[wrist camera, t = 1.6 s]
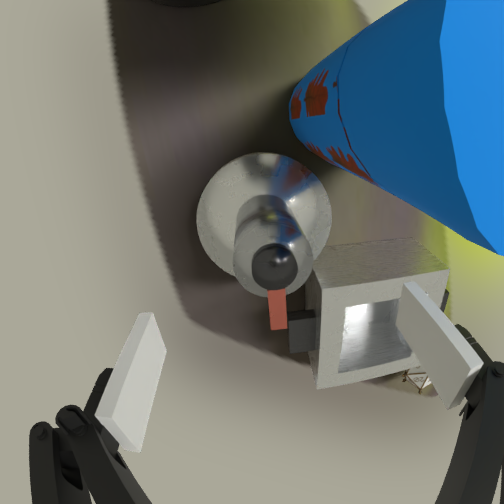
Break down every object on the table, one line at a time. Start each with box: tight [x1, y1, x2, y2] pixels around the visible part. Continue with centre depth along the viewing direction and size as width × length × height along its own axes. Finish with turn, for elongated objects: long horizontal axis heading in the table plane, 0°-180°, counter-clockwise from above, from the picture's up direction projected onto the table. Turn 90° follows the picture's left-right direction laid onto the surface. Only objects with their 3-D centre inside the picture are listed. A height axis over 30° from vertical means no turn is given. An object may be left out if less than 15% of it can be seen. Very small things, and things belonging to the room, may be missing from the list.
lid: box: [197, 152, 332, 330], centre depth 25 cm, size 13×13×14 cm
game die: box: [402, 365, 432, 394], centre depth 39 cm, size 9×8×10 cm
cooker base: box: [287, 237, 450, 389], centre depth 33 cm, size 15×21×9 cm
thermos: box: [289, 0, 504, 256], centre depth 16 cm, size 11×11×25 cm
